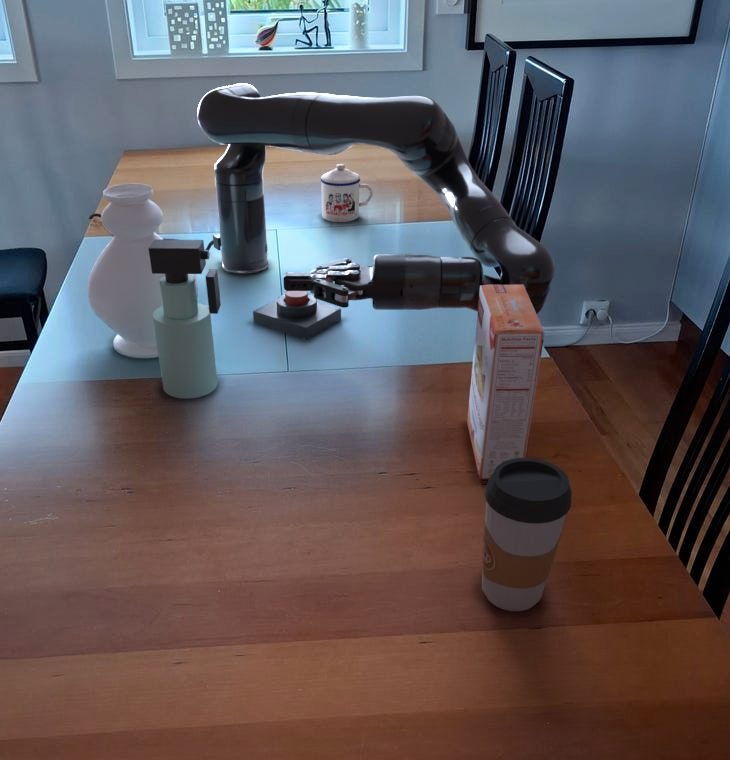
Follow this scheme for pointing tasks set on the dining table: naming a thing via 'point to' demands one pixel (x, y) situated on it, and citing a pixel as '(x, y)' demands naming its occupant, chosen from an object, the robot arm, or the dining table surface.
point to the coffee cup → (522, 530)
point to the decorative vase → (128, 270)
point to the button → (296, 297)
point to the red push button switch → (297, 316)
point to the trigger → (213, 291)
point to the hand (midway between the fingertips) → (284, 281)
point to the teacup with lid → (342, 195)
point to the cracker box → (503, 375)
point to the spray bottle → (183, 320)
